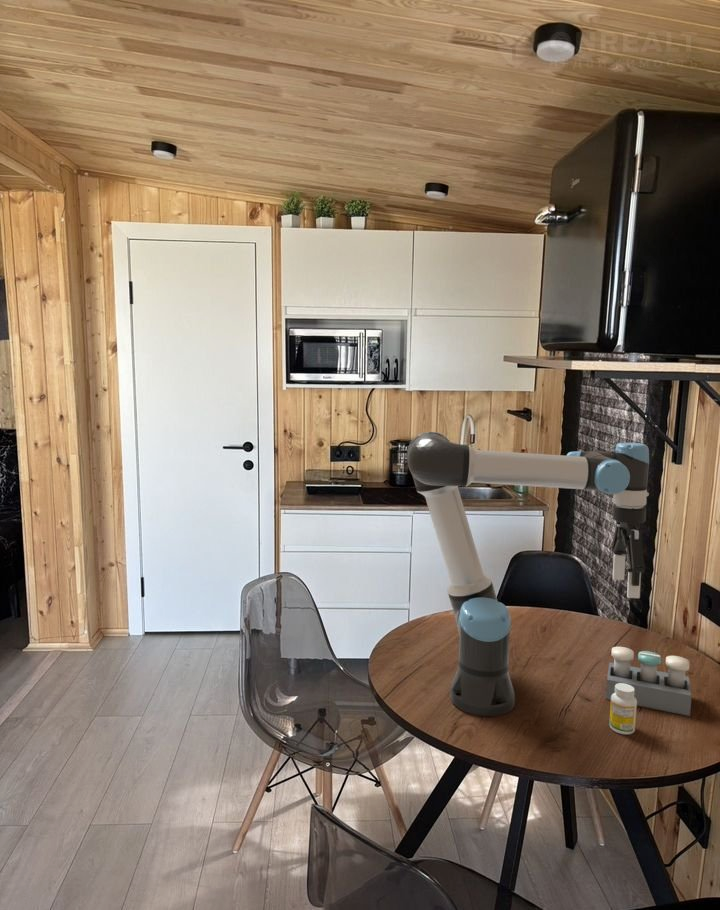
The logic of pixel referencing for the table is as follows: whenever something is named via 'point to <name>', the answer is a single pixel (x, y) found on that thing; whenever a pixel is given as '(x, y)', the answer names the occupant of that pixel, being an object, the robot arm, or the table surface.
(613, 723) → the supplement bottle
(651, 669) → the dial mid
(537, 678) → the table surface
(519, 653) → the table surface
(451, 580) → the robot arm
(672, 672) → the knob
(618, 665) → the knob
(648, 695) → the grey slotted rack
